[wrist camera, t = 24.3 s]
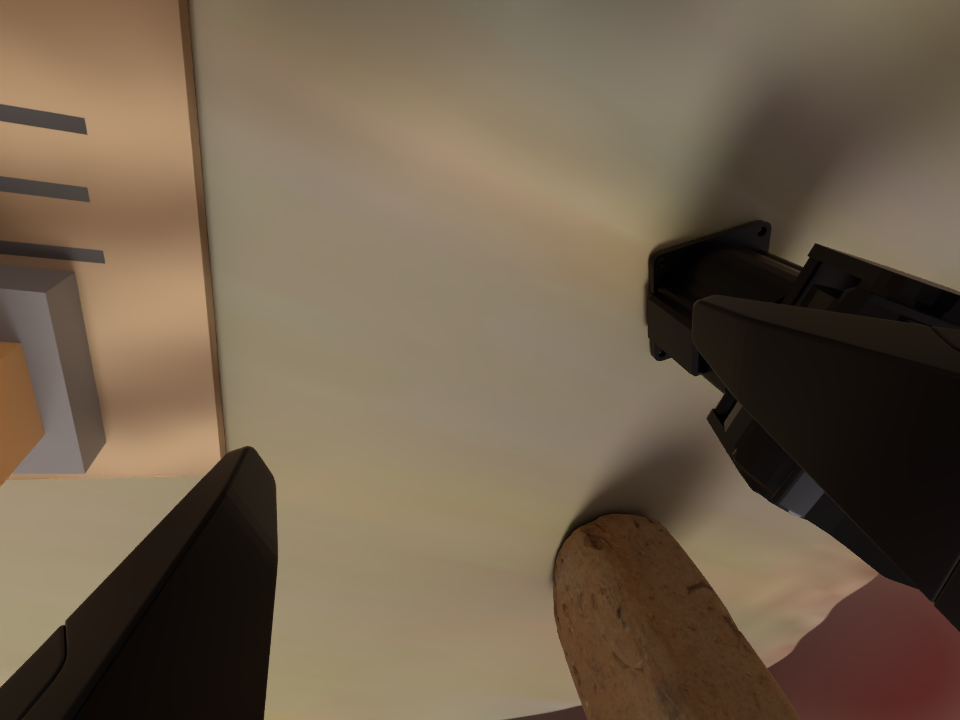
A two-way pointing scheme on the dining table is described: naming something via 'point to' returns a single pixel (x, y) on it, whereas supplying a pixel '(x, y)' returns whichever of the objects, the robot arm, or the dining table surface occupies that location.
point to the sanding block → (45, 376)
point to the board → (117, 215)
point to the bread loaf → (653, 631)
